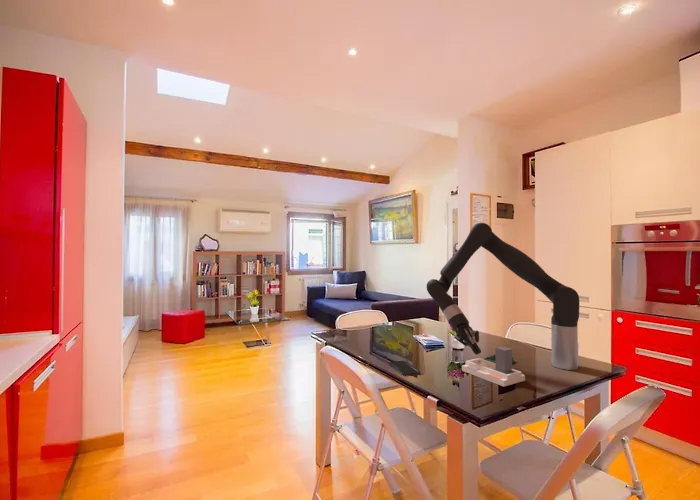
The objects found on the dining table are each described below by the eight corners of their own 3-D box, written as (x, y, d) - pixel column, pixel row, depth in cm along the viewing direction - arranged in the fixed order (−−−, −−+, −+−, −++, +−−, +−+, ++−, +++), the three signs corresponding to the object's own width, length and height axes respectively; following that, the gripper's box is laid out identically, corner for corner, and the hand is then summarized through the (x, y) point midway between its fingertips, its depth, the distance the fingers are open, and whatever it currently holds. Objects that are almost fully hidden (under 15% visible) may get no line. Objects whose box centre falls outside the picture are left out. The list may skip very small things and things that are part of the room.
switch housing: (482, 365, 142) (482, 357, 142) (525, 380, 125) (525, 371, 125) (461, 370, 136) (461, 361, 136) (503, 386, 120) (503, 376, 120)
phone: (405, 360, 147) (421, 372, 132) (405, 363, 147) (421, 375, 132) (387, 362, 145) (402, 374, 130) (387, 364, 145) (402, 376, 130)
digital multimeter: (514, 362, 148) (514, 355, 148) (498, 370, 138) (498, 362, 138) (497, 358, 153) (497, 352, 154) (481, 365, 144) (481, 358, 144)
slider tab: (502, 370, 130) (502, 346, 130) (514, 374, 125) (513, 349, 125) (493, 372, 127) (493, 347, 127) (505, 376, 123) (505, 351, 123)
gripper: (448, 313, 141) (472, 350, 131) (471, 311, 148) (495, 346, 137) (439, 324, 146) (461, 360, 135) (461, 321, 153) (484, 356, 142)
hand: (478, 353), depth 136 cm, fingers closed
